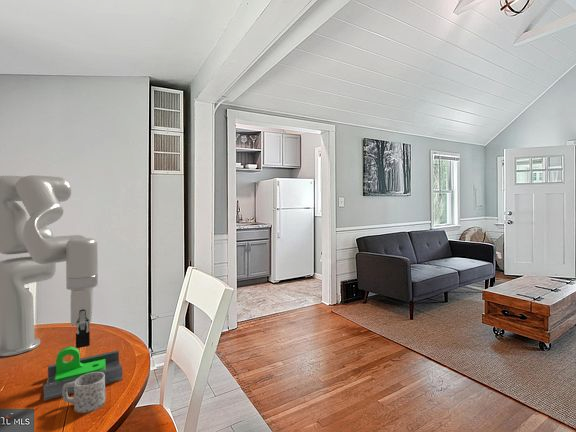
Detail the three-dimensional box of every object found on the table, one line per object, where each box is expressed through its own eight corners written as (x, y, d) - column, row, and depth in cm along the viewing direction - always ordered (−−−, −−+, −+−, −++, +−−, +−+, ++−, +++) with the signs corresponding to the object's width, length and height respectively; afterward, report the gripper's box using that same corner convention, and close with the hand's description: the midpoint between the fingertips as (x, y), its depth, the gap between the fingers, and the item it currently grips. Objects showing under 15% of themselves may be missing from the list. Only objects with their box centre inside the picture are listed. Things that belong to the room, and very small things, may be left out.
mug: (110, 396, 83) (109, 371, 83) (96, 413, 77) (95, 386, 77) (71, 397, 83) (71, 372, 83) (53, 414, 77) (53, 387, 76)
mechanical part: (55, 386, 86) (54, 357, 86) (57, 376, 91) (56, 349, 91) (106, 374, 92) (105, 347, 92) (105, 365, 97) (104, 339, 97)
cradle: (48, 377, 93) (48, 365, 92) (118, 360, 102) (118, 350, 102) (43, 400, 82) (43, 387, 81) (122, 379, 91) (122, 367, 91)
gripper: (67, 276, 96) (68, 331, 97) (64, 291, 82) (65, 356, 82) (96, 273, 100) (97, 326, 101) (98, 287, 86) (99, 349, 87)
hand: (82, 339), depth 92 cm, fingers open, 9 cm apart
